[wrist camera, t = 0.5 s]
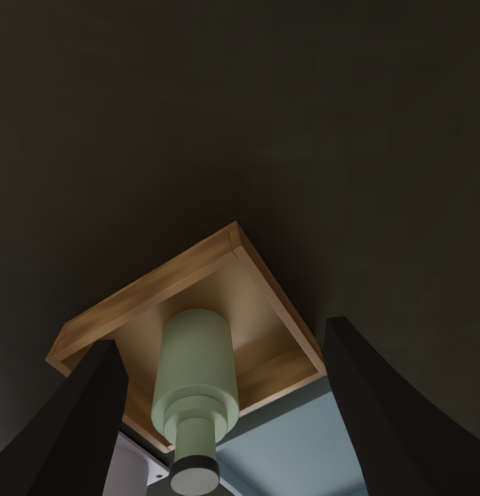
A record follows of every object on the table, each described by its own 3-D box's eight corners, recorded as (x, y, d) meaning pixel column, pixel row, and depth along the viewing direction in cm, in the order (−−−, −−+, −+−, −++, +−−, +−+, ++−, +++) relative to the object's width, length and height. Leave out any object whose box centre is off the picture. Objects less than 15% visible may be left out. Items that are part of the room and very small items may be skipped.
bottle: (188, 369, 26) (182, 522, 17) (148, 329, 24) (118, 479, 15) (243, 340, 25) (265, 485, 16) (206, 296, 23) (209, 434, 14)
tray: (285, 518, 38) (289, 540, 36) (190, 436, 30) (190, 459, 28) (405, 467, 36) (415, 488, 34) (336, 364, 28) (345, 384, 26)
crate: (168, 413, 28) (164, 454, 25) (64, 323, 23) (44, 360, 20) (315, 338, 26) (330, 373, 23) (235, 220, 21) (241, 244, 18)
